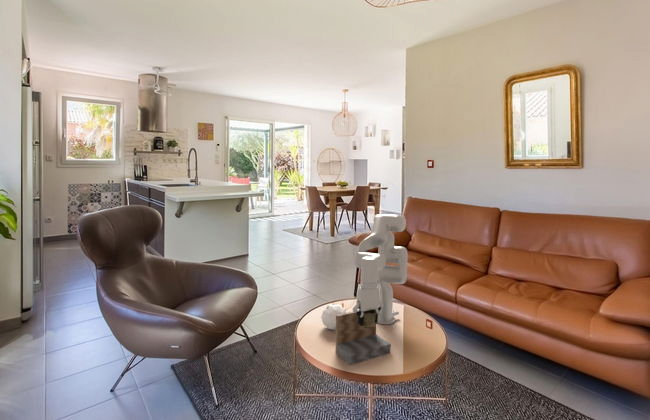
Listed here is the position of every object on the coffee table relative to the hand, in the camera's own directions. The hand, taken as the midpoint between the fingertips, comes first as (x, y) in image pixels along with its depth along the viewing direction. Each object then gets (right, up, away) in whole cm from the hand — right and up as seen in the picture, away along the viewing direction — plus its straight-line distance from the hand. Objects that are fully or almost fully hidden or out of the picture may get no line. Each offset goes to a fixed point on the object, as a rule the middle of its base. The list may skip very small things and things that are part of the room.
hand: (367, 323), depth 162 cm
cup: (0, -2, 0) cm, 2 cm away
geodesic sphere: (-15, -13, +31) cm, 36 cm away
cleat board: (-2, -15, +5) cm, 16 cm away
